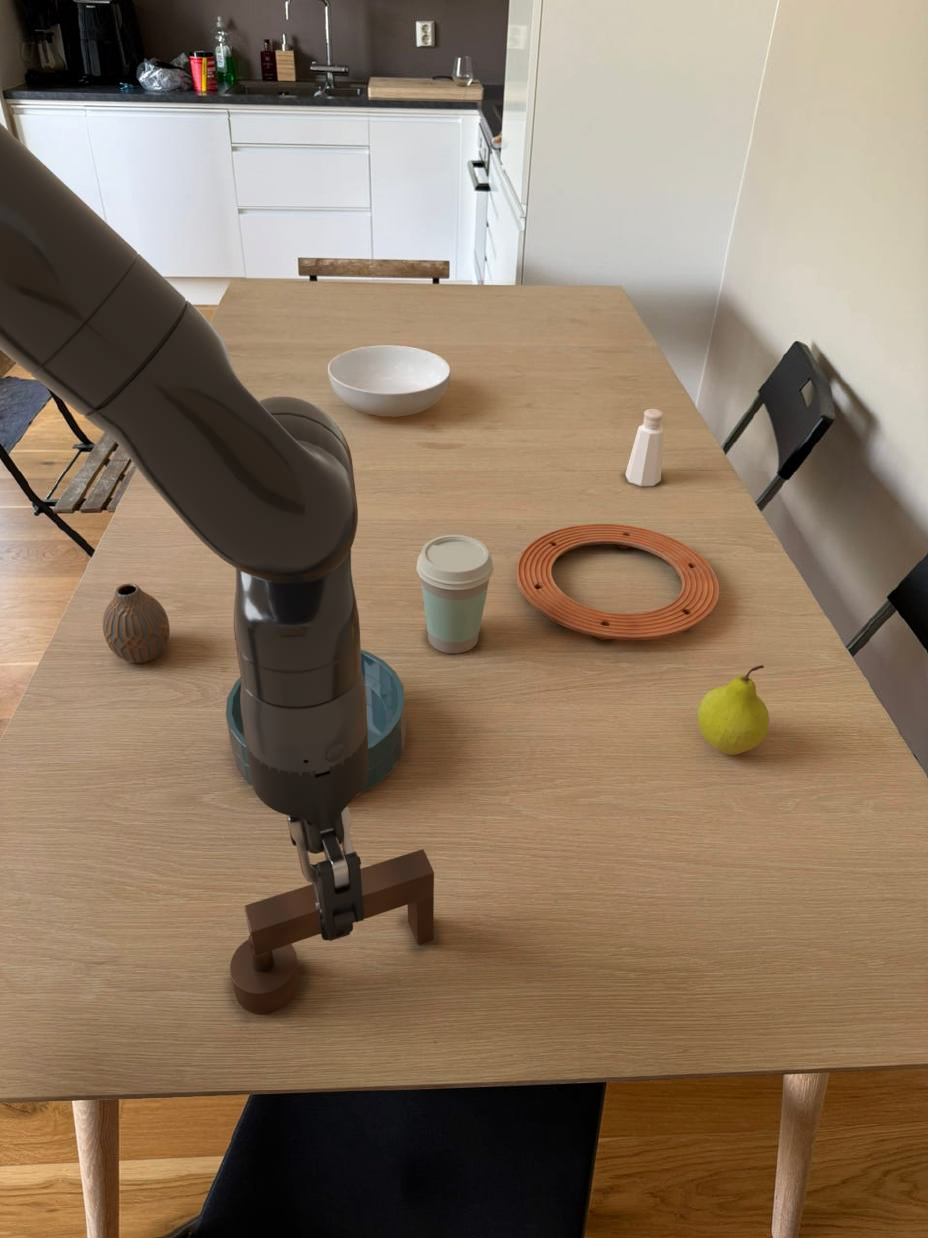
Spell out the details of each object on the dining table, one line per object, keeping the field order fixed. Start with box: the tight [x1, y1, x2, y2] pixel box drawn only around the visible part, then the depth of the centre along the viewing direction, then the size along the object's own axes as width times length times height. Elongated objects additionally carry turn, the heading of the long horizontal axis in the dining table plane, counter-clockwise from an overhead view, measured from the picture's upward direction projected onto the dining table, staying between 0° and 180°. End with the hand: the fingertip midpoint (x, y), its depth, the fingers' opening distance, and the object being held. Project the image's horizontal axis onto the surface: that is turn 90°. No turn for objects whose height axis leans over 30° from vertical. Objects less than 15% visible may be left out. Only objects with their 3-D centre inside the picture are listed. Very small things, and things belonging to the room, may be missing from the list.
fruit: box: [697, 664, 770, 756], centre depth 88 cm, size 7×7×12 cm
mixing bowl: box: [225, 649, 407, 795], centre depth 89 cm, size 17×17×6 cm
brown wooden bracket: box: [229, 848, 435, 1015], centre depth 69 cm, size 16×5×9 cm, turn 113°
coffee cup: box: [415, 534, 495, 654], centre depth 101 cm, size 8×8×12 cm
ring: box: [515, 523, 720, 641], centre depth 113 cm, size 25×25×2 cm
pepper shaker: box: [625, 408, 665, 488], centre depth 133 cm, size 5×5×11 cm
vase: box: [102, 583, 171, 664], centre depth 98 cm, size 7×7×9 cm
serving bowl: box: [327, 344, 452, 418], centre depth 153 cm, size 21×21×7 cm
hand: (320, 884), depth 65 cm, fingers open, 8 cm apart
